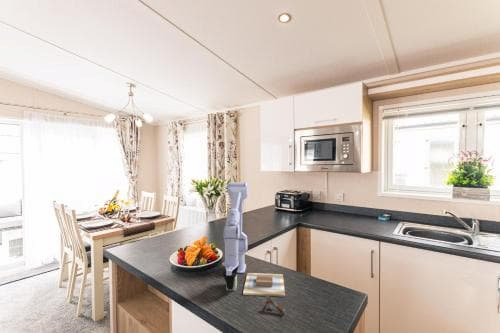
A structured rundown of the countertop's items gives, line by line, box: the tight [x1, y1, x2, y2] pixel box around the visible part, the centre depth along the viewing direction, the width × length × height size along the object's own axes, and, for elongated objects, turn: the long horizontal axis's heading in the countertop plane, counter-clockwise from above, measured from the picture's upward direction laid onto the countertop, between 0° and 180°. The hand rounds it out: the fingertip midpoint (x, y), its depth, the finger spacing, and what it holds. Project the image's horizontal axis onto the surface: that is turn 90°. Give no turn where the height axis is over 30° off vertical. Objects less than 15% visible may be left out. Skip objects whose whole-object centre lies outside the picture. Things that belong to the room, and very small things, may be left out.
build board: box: [242, 272, 286, 298], centre depth 106 cm, size 18×17×3 cm
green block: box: [225, 274, 238, 292], centre depth 103 cm, size 4×4×5 cm
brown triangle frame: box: [264, 296, 286, 317], centre depth 87 cm, size 2×8×4 cm, turn 53°
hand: (231, 284), depth 103 cm, fingers open, 7 cm apart
